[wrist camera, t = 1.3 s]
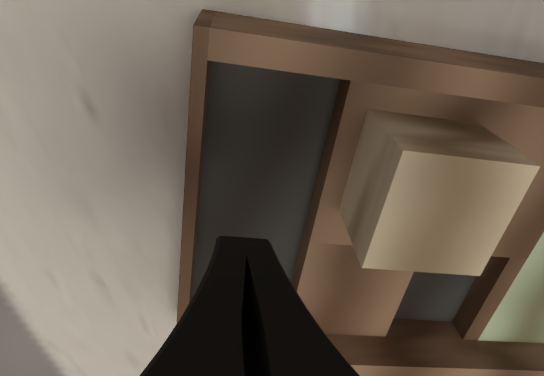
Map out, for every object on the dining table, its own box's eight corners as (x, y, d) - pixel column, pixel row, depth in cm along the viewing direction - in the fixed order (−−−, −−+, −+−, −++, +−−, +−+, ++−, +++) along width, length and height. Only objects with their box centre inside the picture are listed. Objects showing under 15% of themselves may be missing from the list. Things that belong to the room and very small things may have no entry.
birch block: (478, 123, 17) (540, 166, 14) (437, 219, 20) (480, 275, 16) (367, 108, 16) (403, 150, 13) (338, 210, 19) (361, 267, 15)
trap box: (737, 94, 20) (844, 124, 16) (560, 330, 28) (606, 383, 25) (202, 9, 16) (193, 25, 12) (182, 312, 24) (173, 371, 21)
